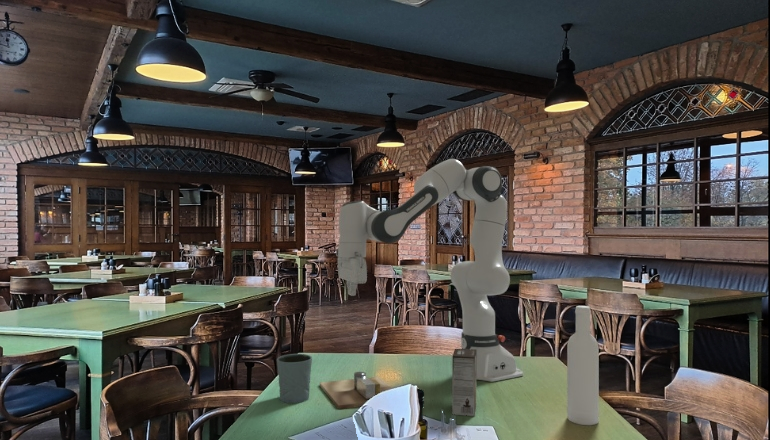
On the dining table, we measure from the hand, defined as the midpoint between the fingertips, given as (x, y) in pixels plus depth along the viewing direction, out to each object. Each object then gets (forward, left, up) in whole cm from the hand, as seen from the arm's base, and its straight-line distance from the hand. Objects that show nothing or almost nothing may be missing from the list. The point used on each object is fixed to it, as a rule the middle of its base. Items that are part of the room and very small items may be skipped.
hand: (351, 295), depth 165 cm
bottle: (-50, +47, -29) cm, 75 cm away
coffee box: (-24, +30, -29) cm, 48 cm away
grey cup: (+19, +5, -29) cm, 35 cm away
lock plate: (-1, +6, -29) cm, 30 cm away
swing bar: (-1, +10, -28) cm, 30 cm away
